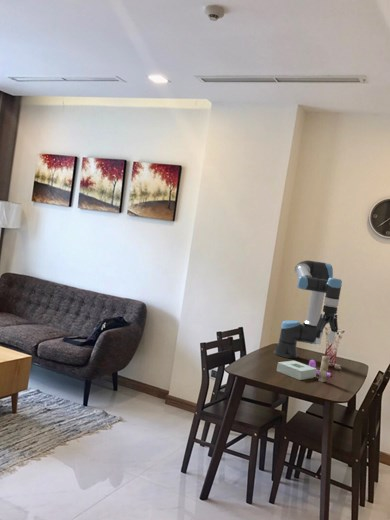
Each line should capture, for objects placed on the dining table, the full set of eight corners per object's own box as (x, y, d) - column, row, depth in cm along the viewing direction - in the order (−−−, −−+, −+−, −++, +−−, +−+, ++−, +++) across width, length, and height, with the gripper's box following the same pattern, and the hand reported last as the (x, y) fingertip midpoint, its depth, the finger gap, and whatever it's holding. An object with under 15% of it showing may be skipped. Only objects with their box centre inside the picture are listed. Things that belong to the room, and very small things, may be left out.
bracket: (308, 372, 283) (310, 361, 283) (307, 370, 288) (309, 359, 288) (330, 377, 280) (332, 365, 280) (329, 375, 286) (331, 363, 286)
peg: (320, 379, 271) (324, 355, 270) (326, 382, 268) (331, 357, 267) (316, 380, 268) (321, 356, 268) (323, 382, 265) (327, 358, 265)
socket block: (292, 368, 286) (294, 360, 286) (315, 377, 275) (317, 368, 274) (276, 370, 275) (277, 362, 275) (299, 380, 264) (301, 371, 263)
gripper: (336, 304, 278) (330, 340, 279) (312, 304, 260) (306, 342, 261) (348, 307, 272) (341, 344, 273) (324, 307, 255) (318, 346, 256)
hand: (324, 343), depth 267 cm, fingers open, 13 cm apart
